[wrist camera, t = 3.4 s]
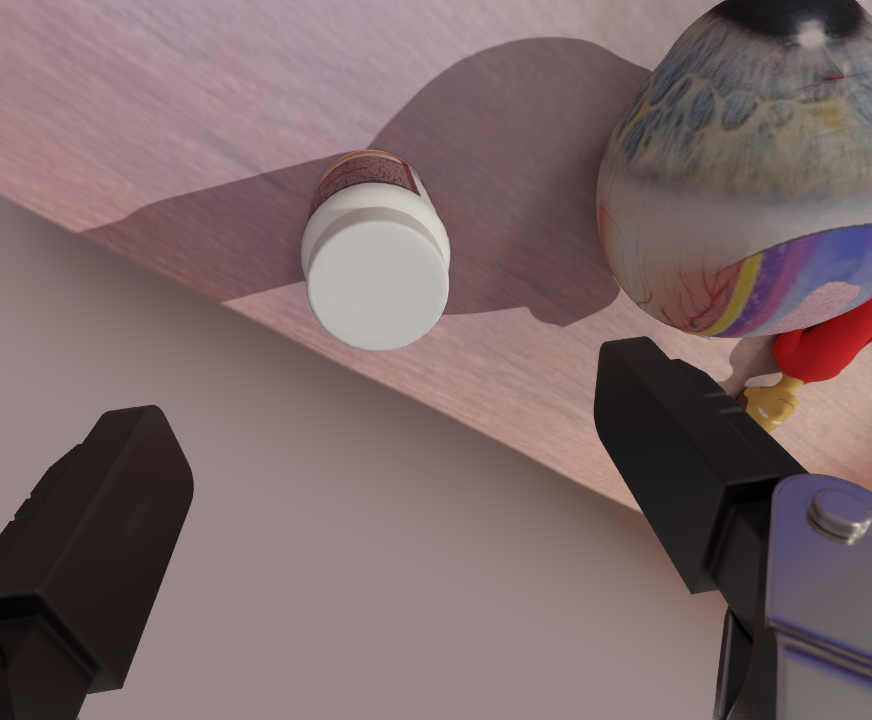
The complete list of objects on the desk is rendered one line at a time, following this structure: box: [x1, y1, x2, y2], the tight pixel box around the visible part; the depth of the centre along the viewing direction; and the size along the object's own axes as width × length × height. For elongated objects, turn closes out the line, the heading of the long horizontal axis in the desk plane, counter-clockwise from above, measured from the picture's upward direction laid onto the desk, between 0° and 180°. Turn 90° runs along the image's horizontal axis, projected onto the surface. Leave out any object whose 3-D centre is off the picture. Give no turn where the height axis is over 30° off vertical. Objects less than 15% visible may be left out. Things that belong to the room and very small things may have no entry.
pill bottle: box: [301, 150, 450, 351], centre depth 18 cm, size 5×5×8 cm
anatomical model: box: [596, 0, 872, 339], centre depth 18 cm, size 10×12×10 cm
